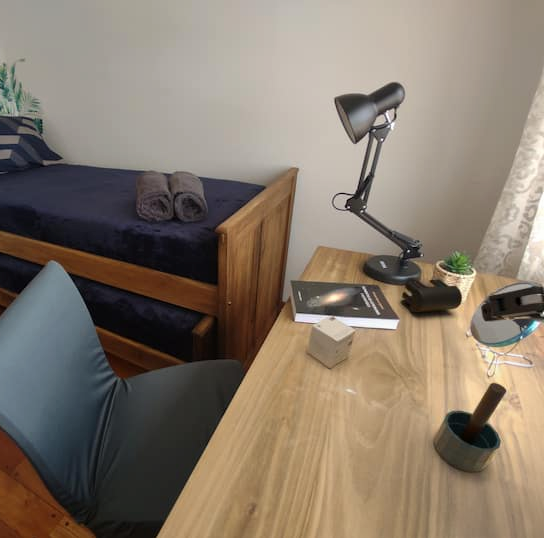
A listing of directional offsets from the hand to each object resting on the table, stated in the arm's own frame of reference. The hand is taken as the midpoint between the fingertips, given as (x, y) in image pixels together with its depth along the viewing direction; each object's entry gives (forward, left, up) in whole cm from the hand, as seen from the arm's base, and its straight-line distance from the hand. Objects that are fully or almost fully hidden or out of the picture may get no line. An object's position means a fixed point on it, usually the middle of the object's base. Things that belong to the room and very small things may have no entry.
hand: (520, 314), depth 45 cm
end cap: (-17, -35, -26) cm, 47 cm away
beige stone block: (+13, -20, -26) cm, 35 cm away
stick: (0, +2, -25) cm, 25 cm away
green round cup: (0, +2, -26) cm, 26 cm away
